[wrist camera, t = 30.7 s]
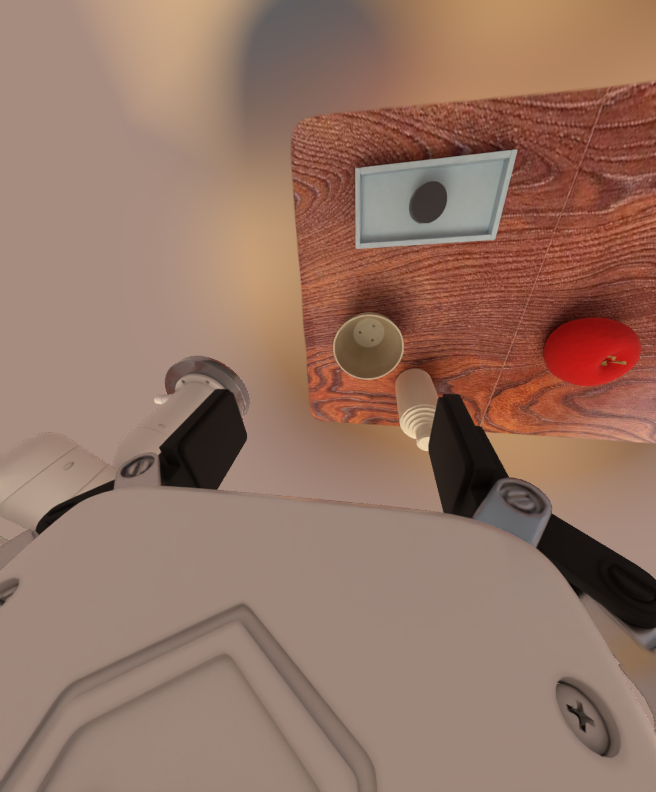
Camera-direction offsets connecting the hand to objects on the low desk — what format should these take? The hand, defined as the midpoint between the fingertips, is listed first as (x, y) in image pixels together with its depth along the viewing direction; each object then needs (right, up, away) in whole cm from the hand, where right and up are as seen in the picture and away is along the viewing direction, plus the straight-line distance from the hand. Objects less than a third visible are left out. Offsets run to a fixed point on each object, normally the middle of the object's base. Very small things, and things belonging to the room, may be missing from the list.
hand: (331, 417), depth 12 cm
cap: (+12, +24, +18) cm, 32 cm away
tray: (+12, +25, +20) cm, 34 cm away
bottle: (+15, +3, +34) cm, 38 cm away
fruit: (+36, +10, +27) cm, 46 cm away
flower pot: (+7, +12, +31) cm, 33 cm away
